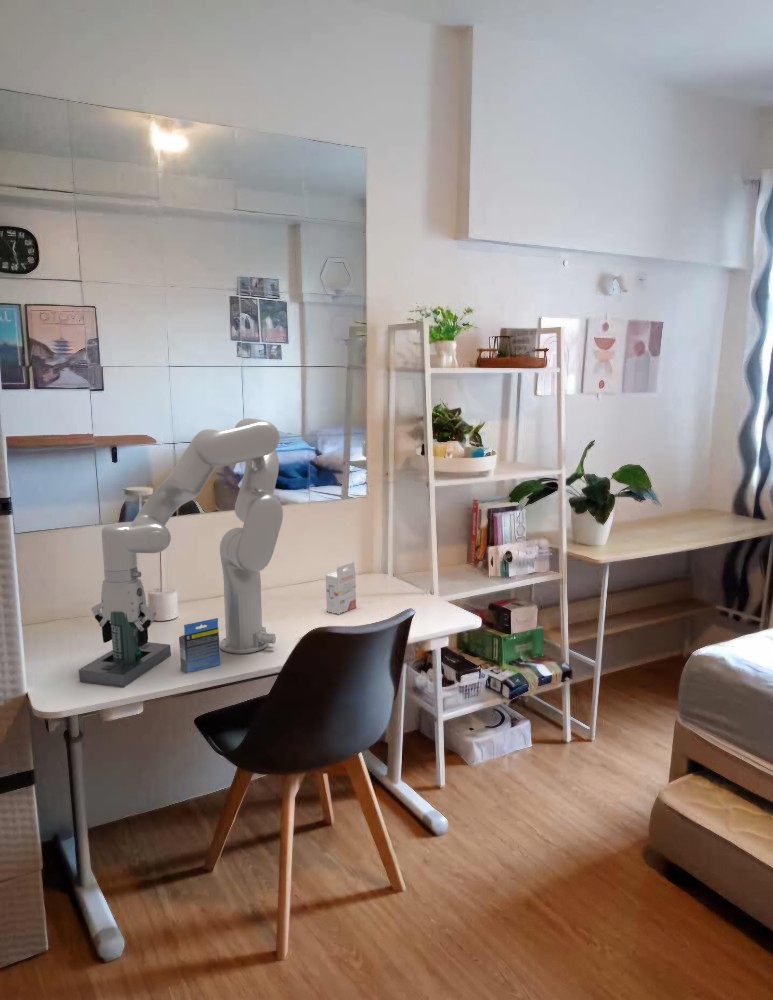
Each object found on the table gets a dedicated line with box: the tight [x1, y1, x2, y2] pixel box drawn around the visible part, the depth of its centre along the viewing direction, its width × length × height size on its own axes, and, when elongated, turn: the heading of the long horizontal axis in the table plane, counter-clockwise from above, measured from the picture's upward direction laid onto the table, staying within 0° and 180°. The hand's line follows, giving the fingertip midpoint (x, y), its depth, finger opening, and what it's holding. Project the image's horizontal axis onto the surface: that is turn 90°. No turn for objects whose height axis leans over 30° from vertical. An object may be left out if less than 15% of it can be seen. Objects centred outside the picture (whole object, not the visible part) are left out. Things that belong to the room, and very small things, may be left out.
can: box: [110, 612, 141, 665], centre depth 184 cm, size 6×6×15 cm
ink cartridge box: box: [325, 561, 357, 615], centre depth 228 cm, size 9×5×15 cm, turn 143°
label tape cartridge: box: [178, 617, 221, 674], centre depth 185 cm, size 9×4×12 cm, turn 127°
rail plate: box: [78, 641, 172, 688], centre depth 185 cm, size 12×20×3 cm, turn 164°
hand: (125, 642), depth 184 cm, fingers open, 9 cm apart
